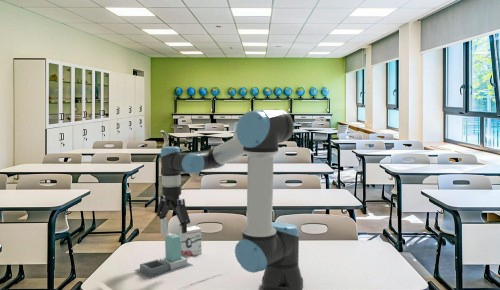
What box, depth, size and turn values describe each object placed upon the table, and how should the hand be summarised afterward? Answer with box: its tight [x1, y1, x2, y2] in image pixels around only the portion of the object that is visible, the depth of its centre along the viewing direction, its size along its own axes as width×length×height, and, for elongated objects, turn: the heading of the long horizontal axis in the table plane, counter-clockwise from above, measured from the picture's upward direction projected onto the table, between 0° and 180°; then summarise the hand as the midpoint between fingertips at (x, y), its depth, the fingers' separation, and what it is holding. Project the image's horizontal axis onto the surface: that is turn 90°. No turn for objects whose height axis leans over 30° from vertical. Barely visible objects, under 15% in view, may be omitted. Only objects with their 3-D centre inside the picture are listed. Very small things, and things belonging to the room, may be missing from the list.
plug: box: [164, 232, 182, 263], centre depth 187 cm, size 4×4×13 cm
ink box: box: [178, 225, 203, 257], centre depth 203 cm, size 8×5×12 cm, turn 123°
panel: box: [134, 255, 194, 280], centre depth 185 cm, size 12×20×4 cm, turn 134°
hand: (173, 237), depth 187 cm, fingers open, 13 cm apart
